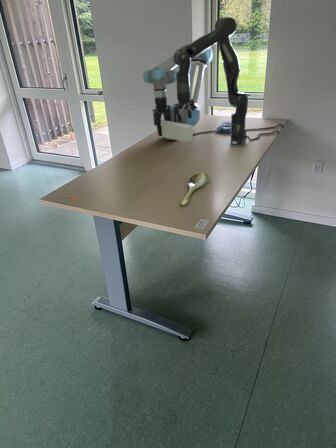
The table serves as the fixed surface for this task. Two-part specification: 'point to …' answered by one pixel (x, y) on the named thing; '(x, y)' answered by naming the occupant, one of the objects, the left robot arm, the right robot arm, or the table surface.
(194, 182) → the spoon
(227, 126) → the spray gun
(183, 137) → the bar
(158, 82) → the left robot arm
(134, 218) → the table surface
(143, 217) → the table surface
